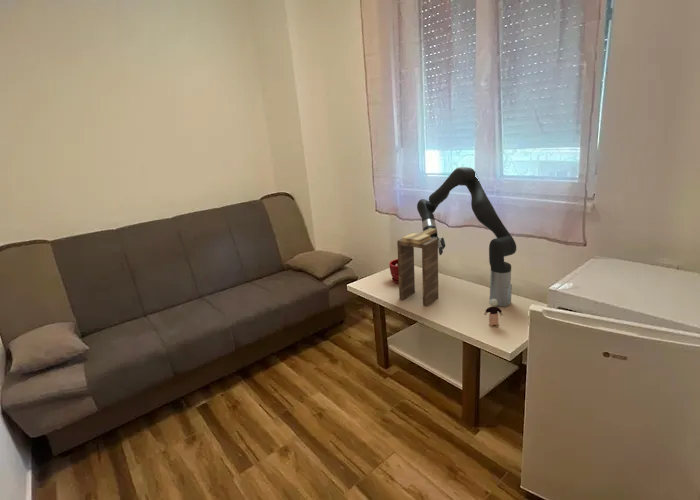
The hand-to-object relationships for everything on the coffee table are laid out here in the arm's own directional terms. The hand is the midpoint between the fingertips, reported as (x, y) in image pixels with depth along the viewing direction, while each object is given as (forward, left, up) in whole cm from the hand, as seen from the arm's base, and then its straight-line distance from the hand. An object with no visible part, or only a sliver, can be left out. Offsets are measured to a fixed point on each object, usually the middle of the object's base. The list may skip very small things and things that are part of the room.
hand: (433, 253), depth 212 cm
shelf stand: (+1, +14, -21) cm, 25 cm away
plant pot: (+22, -2, -21) cm, 31 cm away
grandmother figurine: (-41, +22, -21) cm, 51 cm away
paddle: (+1, +9, +11) cm, 14 cm away
